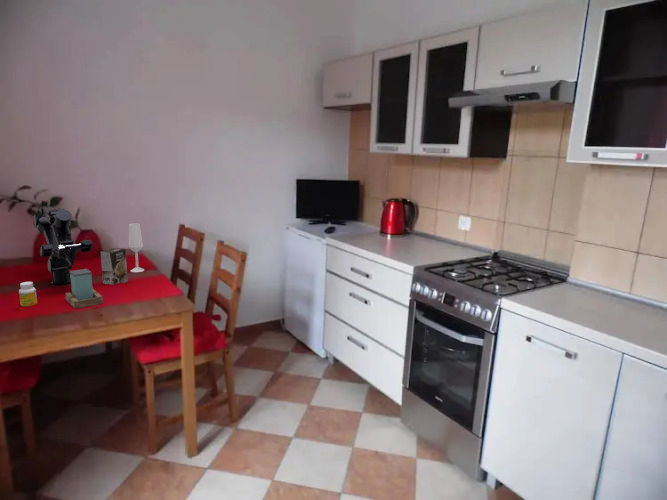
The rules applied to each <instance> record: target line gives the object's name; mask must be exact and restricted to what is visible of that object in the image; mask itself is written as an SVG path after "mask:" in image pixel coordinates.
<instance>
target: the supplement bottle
mask: <svg viewBox="0 0 667 500" xmlns="http://www.w3.org/2000/svg"><path fill="white" fill-rule="evenodd" d="M19 286H20V289H18V294H19V302H20V306H21V307H31V306H36V305H37V304H38V297H37V289H36V288H35V287H34V283H33V281H24V282H21V283H19Z"/></svg>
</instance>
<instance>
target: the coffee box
mask: <svg viewBox="0 0 667 500" xmlns="http://www.w3.org/2000/svg"><path fill="white" fill-rule="evenodd" d="M126 252H127V251H126V248H121V247H117V248H116V247H113V248H108V249H105V250H103V251H100V263H101V276H102V284H106V285H117V284H120V283H122V284H125V283H128V282H129V281H128V270H127V253H126Z"/></svg>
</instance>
